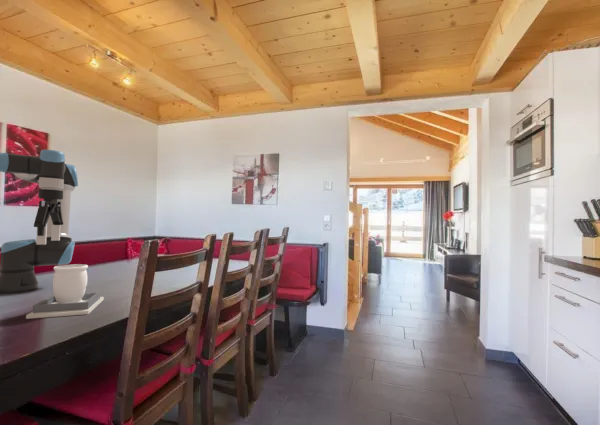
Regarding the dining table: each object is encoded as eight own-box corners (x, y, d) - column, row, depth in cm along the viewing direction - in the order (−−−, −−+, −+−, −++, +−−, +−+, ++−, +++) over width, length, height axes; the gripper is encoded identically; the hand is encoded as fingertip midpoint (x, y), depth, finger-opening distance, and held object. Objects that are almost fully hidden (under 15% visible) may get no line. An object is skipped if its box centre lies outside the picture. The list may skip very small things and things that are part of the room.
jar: (45, 309, 106) (47, 268, 107) (60, 301, 116) (62, 263, 117) (78, 308, 109) (80, 268, 109) (91, 300, 119) (92, 263, 119)
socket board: (51, 302, 118) (52, 293, 118) (103, 299, 125) (104, 290, 125) (26, 318, 100) (26, 307, 100) (88, 314, 106) (88, 303, 106)
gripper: (52, 190, 126) (49, 238, 126) (23, 186, 103) (20, 246, 103) (73, 191, 129) (71, 239, 129) (50, 188, 106) (47, 246, 106)
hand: (48, 242), depth 116 cm, fingers open, 13 cm apart
